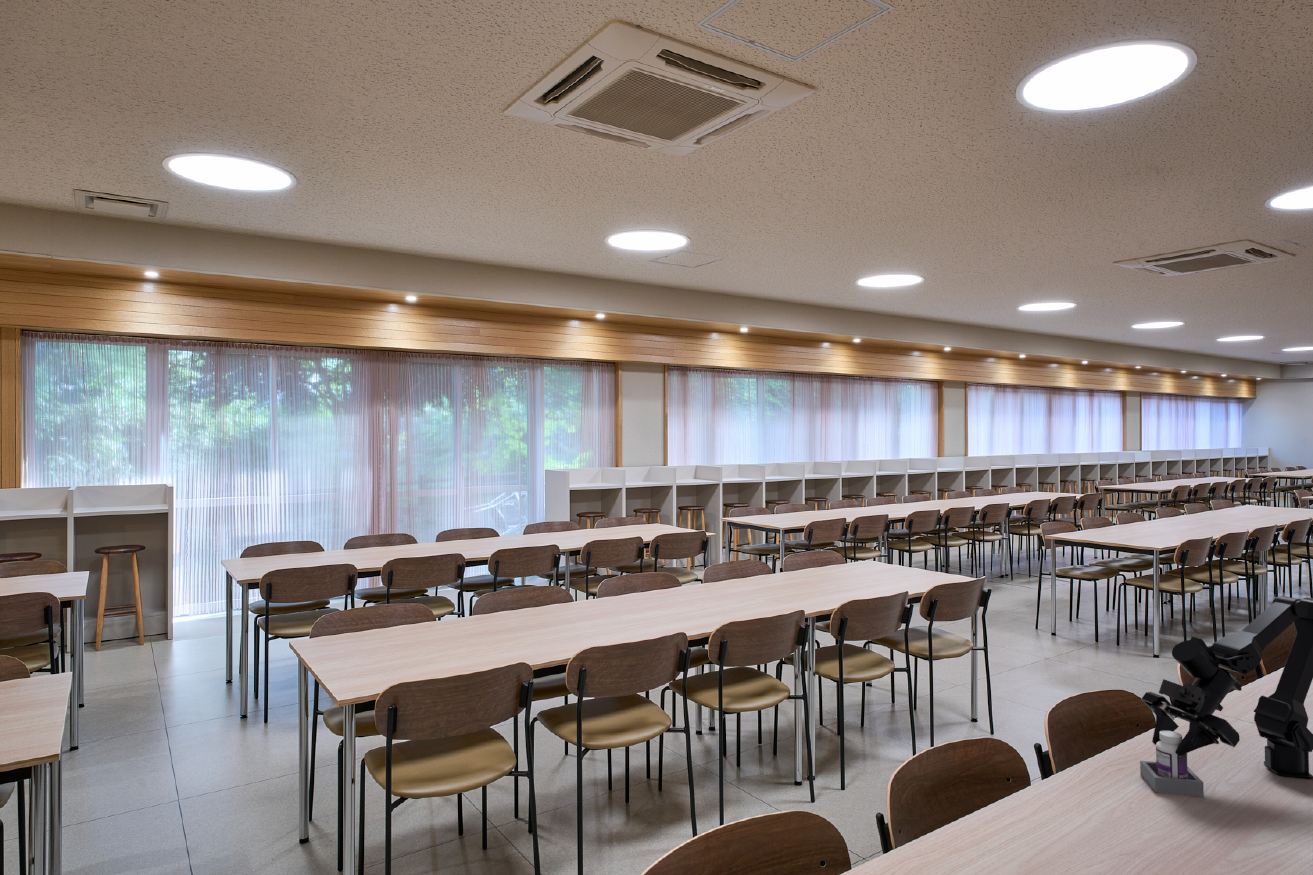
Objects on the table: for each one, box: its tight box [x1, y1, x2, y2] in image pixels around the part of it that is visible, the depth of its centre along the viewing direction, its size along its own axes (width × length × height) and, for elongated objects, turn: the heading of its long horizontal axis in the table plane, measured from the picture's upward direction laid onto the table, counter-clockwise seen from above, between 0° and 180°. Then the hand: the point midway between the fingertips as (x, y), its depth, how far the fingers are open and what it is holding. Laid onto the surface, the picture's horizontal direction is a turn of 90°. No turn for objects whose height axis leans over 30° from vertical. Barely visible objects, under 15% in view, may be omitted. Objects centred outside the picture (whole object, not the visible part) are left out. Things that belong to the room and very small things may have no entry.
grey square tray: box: [1139, 760, 1205, 798], centre depth 155 cm, size 9×9×3 cm
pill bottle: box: [1155, 731, 1188, 779], centre depth 155 cm, size 5×5×10 cm
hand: (1165, 748), depth 155 cm, fingers closed on pill bottle, 5 cm apart
